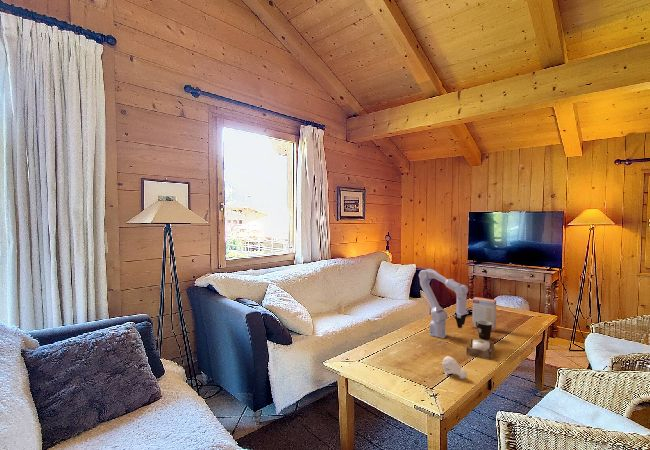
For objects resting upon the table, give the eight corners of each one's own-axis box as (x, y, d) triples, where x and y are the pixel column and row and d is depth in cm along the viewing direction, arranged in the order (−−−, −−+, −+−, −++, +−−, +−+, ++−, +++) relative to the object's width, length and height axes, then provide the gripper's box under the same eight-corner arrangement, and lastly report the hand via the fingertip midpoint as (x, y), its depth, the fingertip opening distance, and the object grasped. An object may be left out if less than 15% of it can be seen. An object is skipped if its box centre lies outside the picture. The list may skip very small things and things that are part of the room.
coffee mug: (493, 341, 210) (493, 325, 209) (478, 340, 211) (479, 324, 211) (488, 334, 221) (488, 319, 221) (474, 333, 223) (474, 318, 222)
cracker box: (496, 329, 229) (496, 299, 228) (493, 332, 225) (494, 301, 224) (474, 325, 239) (475, 296, 238) (472, 327, 234) (472, 298, 233)
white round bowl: (471, 353, 192) (471, 343, 192) (473, 348, 200) (473, 338, 199) (488, 357, 187) (488, 346, 187) (490, 351, 195) (490, 341, 194)
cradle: (466, 354, 191) (466, 345, 190) (470, 345, 203) (471, 337, 203) (491, 359, 184) (491, 350, 183) (494, 349, 197) (494, 341, 196)
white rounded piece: (447, 353, 172) (470, 363, 163) (446, 368, 173) (468, 379, 164) (441, 356, 168) (464, 367, 159) (439, 372, 169) (462, 384, 160)
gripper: (466, 308, 199) (465, 331, 200) (470, 302, 212) (470, 324, 212) (453, 306, 203) (453, 328, 204) (458, 301, 215) (458, 322, 216)
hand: (461, 326), depth 208 cm, fingers open, 7 cm apart
